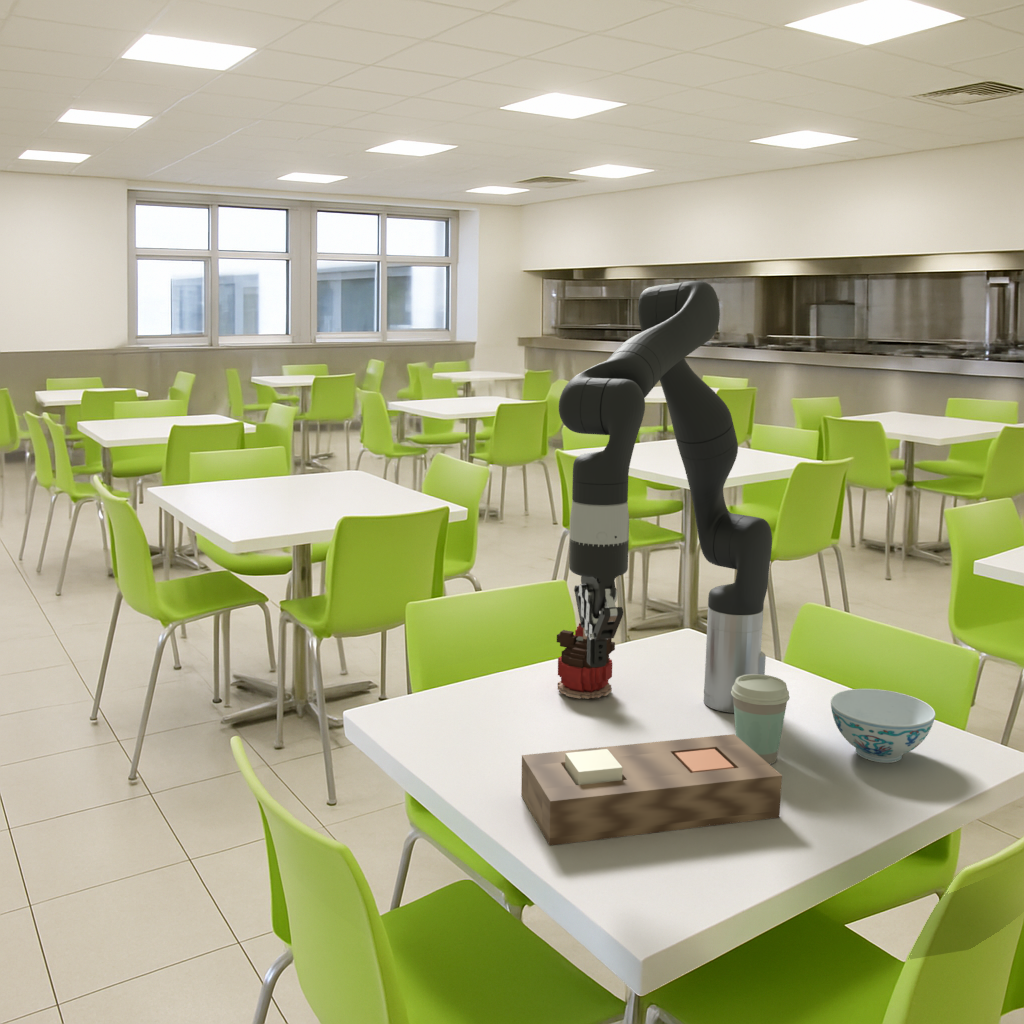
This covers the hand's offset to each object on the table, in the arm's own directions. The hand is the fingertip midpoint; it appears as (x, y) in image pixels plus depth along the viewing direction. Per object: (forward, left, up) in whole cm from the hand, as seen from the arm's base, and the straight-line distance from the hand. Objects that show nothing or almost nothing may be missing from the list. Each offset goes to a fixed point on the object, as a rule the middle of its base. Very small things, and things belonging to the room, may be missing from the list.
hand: (596, 665), depth 132 cm
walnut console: (-8, 0, -21) cm, 22 cm away
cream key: (0, 0, -17) cm, 17 cm away
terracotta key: (-16, 0, -19) cm, 25 cm away
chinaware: (-49, -8, -21) cm, 54 cm away
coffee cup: (-30, -11, -21) cm, 38 cm away
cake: (-13, -43, -21) cm, 50 cm away
